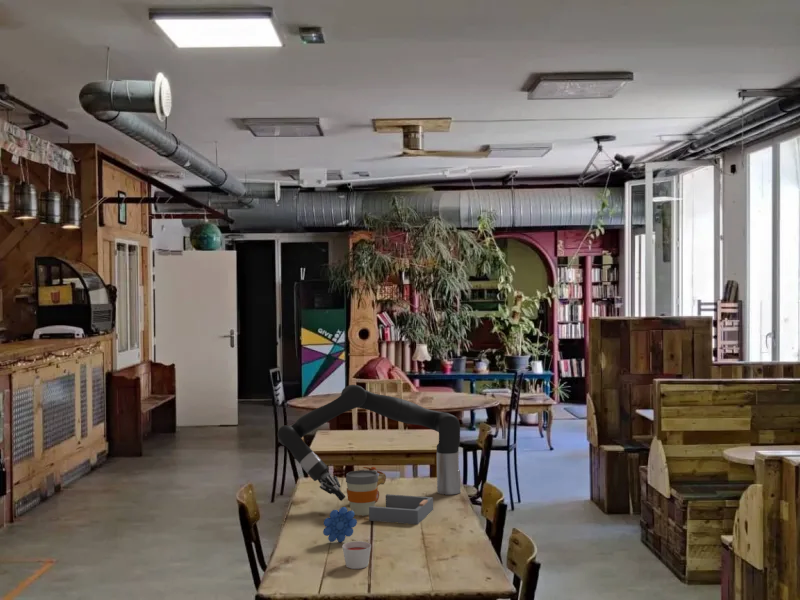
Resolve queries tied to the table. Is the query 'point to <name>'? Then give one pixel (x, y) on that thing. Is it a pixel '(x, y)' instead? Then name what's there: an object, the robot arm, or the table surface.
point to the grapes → (339, 524)
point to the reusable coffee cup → (361, 490)
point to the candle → (356, 554)
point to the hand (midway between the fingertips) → (343, 498)
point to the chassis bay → (402, 509)
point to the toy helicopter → (380, 479)
